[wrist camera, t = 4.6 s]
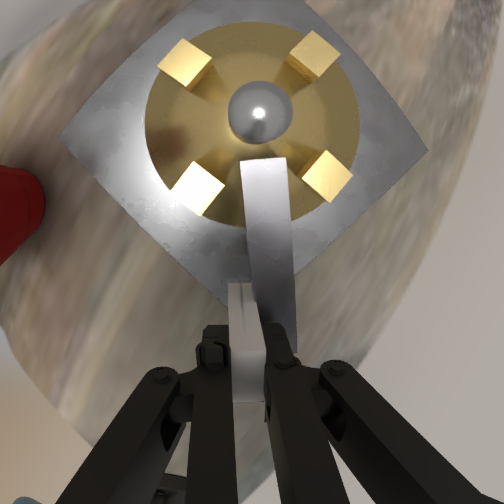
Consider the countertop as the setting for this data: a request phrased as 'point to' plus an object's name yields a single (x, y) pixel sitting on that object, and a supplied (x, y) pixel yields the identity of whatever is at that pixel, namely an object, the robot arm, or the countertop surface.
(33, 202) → the plastic cup
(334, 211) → the flange plate
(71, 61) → the countertop surface
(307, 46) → the brass dial with lever
